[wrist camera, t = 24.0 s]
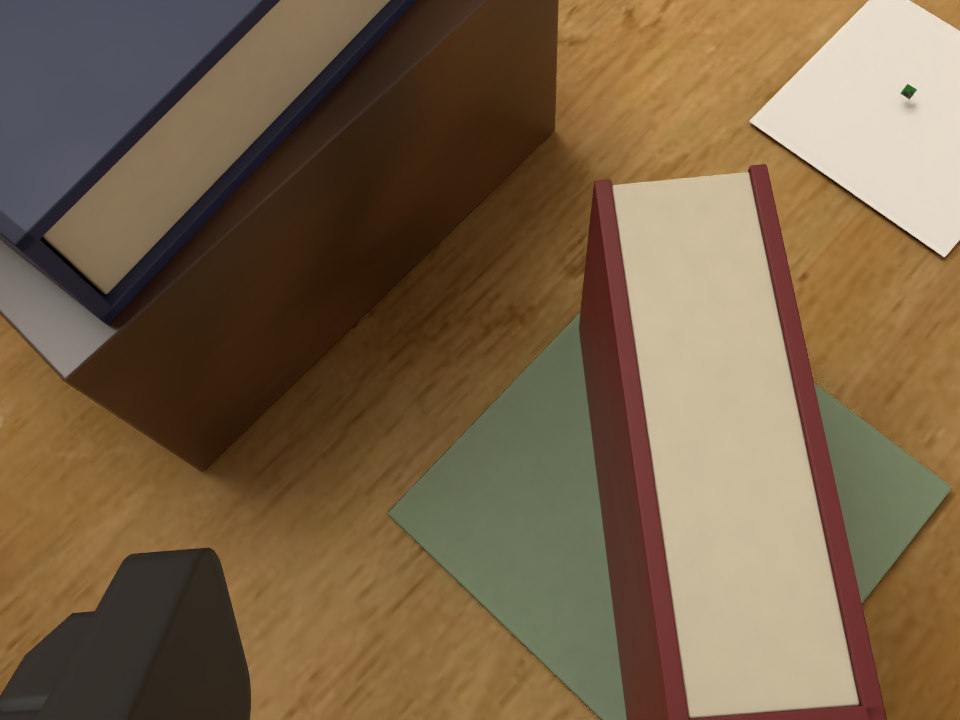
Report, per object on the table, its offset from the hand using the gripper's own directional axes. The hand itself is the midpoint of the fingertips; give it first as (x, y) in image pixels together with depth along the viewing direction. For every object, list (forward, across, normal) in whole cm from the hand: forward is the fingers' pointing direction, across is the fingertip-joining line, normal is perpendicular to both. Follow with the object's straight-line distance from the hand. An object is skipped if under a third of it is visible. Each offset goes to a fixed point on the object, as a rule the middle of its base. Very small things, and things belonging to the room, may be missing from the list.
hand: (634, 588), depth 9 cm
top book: (+16, -4, +10) cm, 19 cm away
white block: (+25, -14, +1) cm, 29 cm away
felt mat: (+16, -4, +10) cm, 20 cm away
